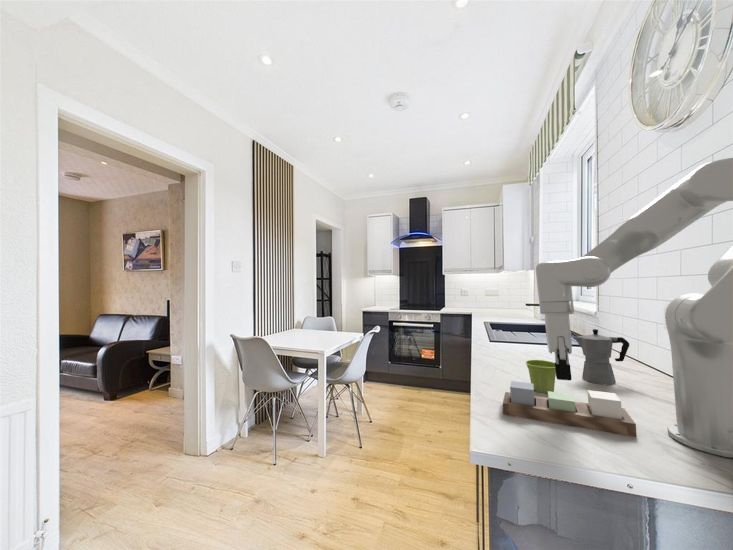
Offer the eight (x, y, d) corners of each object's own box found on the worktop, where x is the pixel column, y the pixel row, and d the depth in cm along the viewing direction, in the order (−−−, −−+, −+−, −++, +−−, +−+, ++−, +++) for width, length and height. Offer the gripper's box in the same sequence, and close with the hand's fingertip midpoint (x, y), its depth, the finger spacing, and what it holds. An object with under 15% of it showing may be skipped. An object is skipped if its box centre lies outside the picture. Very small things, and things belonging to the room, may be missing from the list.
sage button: (573, 413, 76) (572, 394, 76) (576, 422, 71) (575, 401, 71) (548, 409, 78) (547, 391, 79) (549, 418, 74) (548, 398, 74)
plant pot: (559, 387, 96) (557, 361, 96) (561, 397, 88) (559, 368, 88) (527, 383, 101) (525, 358, 101) (526, 392, 93) (524, 365, 93)
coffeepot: (575, 381, 102) (572, 329, 102) (575, 374, 109) (572, 326, 110) (634, 389, 93) (631, 332, 94) (629, 380, 101) (625, 328, 101)
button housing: (624, 420, 72) (624, 408, 72) (636, 437, 64) (635, 424, 64) (505, 402, 85) (505, 391, 85) (503, 414, 77) (502, 403, 77)
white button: (616, 413, 71) (615, 393, 72) (622, 423, 67) (621, 401, 67) (588, 409, 74) (587, 390, 74) (592, 418, 69) (591, 397, 70)
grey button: (534, 401, 80) (533, 383, 80) (534, 409, 75) (533, 389, 76) (512, 398, 83) (511, 381, 83) (511, 405, 78) (510, 386, 78)
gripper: (539, 306, 84) (545, 370, 83) (540, 310, 71) (548, 386, 70) (570, 305, 80) (577, 372, 79) (577, 309, 68) (586, 389, 66)
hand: (563, 378), depth 75 cm, fingers closed
